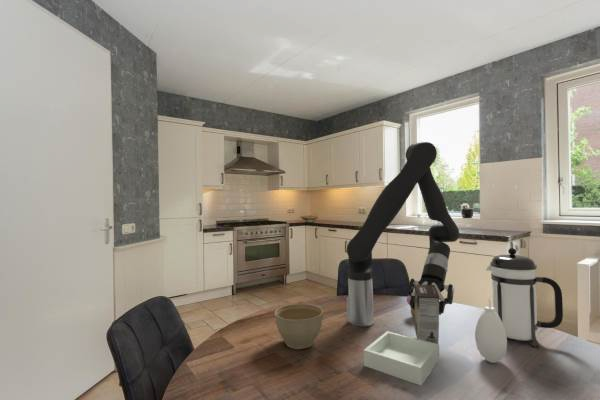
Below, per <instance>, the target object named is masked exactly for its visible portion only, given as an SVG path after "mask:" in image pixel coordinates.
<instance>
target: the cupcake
mask: <svg viewBox="0 0 600 400" xmlns="http://www.w3.org/2000/svg"><path fill="white" fill-rule="evenodd" d="M410 299H411V297H409V296H408V295H407V297H406V303H407V304H408V305H409V306H410V304H409V303H410ZM410 313H411V317H412V318H413V319H415V308H414V309H412V308H411V306H410Z"/></svg>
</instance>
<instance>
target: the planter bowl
mask: <svg viewBox="0 0 600 400" xmlns="http://www.w3.org/2000/svg"><path fill="white" fill-rule="evenodd" d="M323 314H324V311H323V309H322V308H321V307H320V306H318V305H315V304H310V303H292V304H287V305H282V306H281V307H278V308H277V309H276V310H275V311H274V317H275V324H276V328H277V331H278V333H279V334H280V336H281V339H283V340H284V344H285V345H287V346H286V347H288V348H289V347H290V349H292V348H293V350H303V349H309V348H310V347H312V346H313V345H314V344H315V340H316V339H317V337H318V336H319V333H320V331H321V328H322V324H323Z"/></svg>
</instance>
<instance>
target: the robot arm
mask: <svg viewBox="0 0 600 400" xmlns="http://www.w3.org/2000/svg"><path fill="white" fill-rule="evenodd" d="M437 152H438V151H437V147H436V146H435V144H433V143H431V142H428V141H419V142H415V143H412V144H410V145H408V147H407V149H406V152H405V160H406V162H405V164H404V166H403V167H402V169H401V170H400V171H399V172H398V174H397V175H396V176H395V177H394V178H393V179H391V181H390V182H389V183H388V184H387V185H386V186H385V188H383V189H382V191H381V193H380V194H379V196H378V197H377V198H376V200H375V201H374V204H373V206H372V207H371V209H370V211H369V213H368V215H367V217H366V220H365V221H364V223H363V225H362V226H361V227H360V229H359V230H358V232H356V234H355V235H354V236H353V237H352V238H351V239H350V240H349V241H348V243H347V244H346V245H347V246H346V253H347V256H348V267H347V276H348V277H347V278H348V279H347V283H348V296H346V321H347V323H350V325H353V326H356V327H370V326H372V325H374V323H375V322H374V290H373V250H374V247H375V246H376V243H377V242H378V240H379V238H380V237H381V235H382V234H383V233H384V231H385V230H386V229H387V228H389V226H390V224H391V223H392V222H393V220H394V219H395V218H396V217H397V215H398V214H399V212H400V211H401V209H402V208H403V206H404V205H405V202H406V201H407V200H408V198H410V197H409V196H410V195H411V193H412V192H413V191H414V188H415V187H416V185H418V188H419V191H420V194H421V196H422V200H423V203H424V207H425V210H426V213H427V216H428V219H430V221H431V220H432V221H435V222H436V221H437V222H440V223H438V224H437V223H436V224H433V225H431V226H430V227H429V229H428V238H429V239H428V240H429V248H428V252H427V256H426V259H425V260H424V264H423V268H422V273H421V277H420V279H419V280H415V278H411V279H410V281H409V284H408V286H407V289H406V294H407V297H408V296H409V297H411V299H410V303H409V304H410V305H409V304H408V305H409V306H411V307H410V309H411V308H412V309H414V308H415V285H435V288H436V290H437V293H438V295H439V316H441V315H443V314H444V312H445V308H446V305H452V304H453V303H454V302H453V299H454V293H455V289H454V286H453V284H451V283H450V284H448V285H446V284H445V283H446V282H445V281H446V276H447V272H448V268H449V258H450V255H451V248H450V246H449V245H448V244H447V243H453V242H456V241H458V240H459V238H460V230H459V228H458V226H457V224H456V222H455V221H454V220H453V218H452V217H451V215H450V213H449V211H448V208H447V205H446V201H445V198H444V194H443V193H442V191H441V189H440V187H439V186H438V184H437V182H436V179H435V178H434V176H433V175H434V174H433V172H432V170H431V167H432V165H433V164H434V162H435V161H436V158H437V155H438V154H437ZM444 290H445V291H446V292H447V294H446V295H447V296H446V298H444V296H443V293H442V292H444Z"/></svg>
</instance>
